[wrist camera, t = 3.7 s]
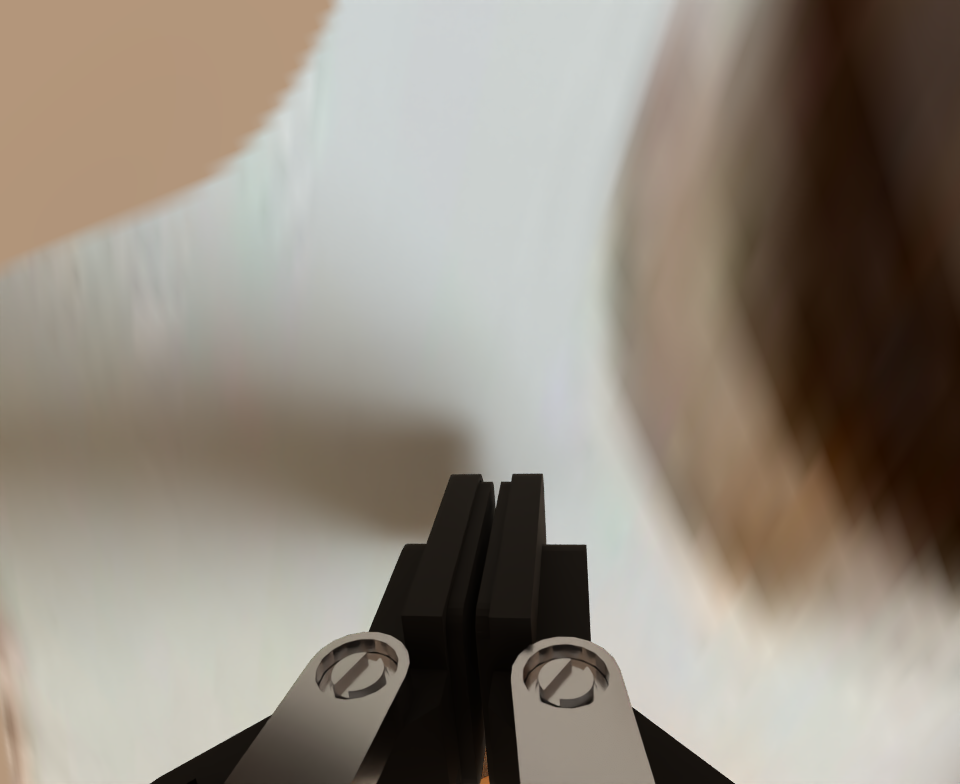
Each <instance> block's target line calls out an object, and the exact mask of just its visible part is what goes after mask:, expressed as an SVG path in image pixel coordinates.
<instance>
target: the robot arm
mask: <svg viewBox="0 0 960 784" xmlns="http://www.w3.org/2000/svg"><path fill="white" fill-rule="evenodd" d="M485 747H486V752H487V763H488V774H489V783H490V784H735V783H733V782H732V781H731V780H729V779H728V778H727V777H725V776H724V775H723V774H721V773H720V772H719V771H717V770H716V769H715V768H713V767H712V766H711V765H709V764H708V763H706V762H705V761H704V760H702V759H701V758H700V757H698V756H697V755H696V754H694V753H693V752H692V751H690V750H689V749H688V748H686V747H685V746H684V745H682V744H681V743H680V742H678V741H677V740H676V739H674V738H673V737H672V736H670V735H669V734H668V733H666V732H665V731H664V730H662V729H661V728H659V727H658V726H657V725H655V724H654V723H653V722H651V721H650V720H649V719H647V718H646V717H645V716H643V715H642V714H641V713H639V712H638V711H637V710H635V709H634V708H633V707H632V706H631V703H630V700H629V696H628V693H627V690H626V687H625V683H624V680H623V677H622V674H621V670H620V668H619V666H618V665H617V663H616V661H615V659H614V658H613V657H612V656H611V655H610V654H609V653H608V652H607V651H606V650H605V649H604V648H602V647H600V646H598V645H596V644H594V643H592V642H591V634H590V613H589V591H588V570H587V549H586V545H546V525H545V503H544V483H543V474H513V475H512V481H511V482H501V485H500V490H499V495H498V500H497V505H496V508H495V495H494V485H493V482H483V478H482V475H481V474H459V475H451V477H450V479H449V482H448V485H447V488H446V490H445V493H444V496H443V499H442V502H441V504H440V507H439V510H438V513H437V516H436V519H435V521H434V524H433V527H432V530H431V533H430V535H429V538H428V541H427V544H406V545H405V546H404V548H403V549H402V552H401V554H400V556H399V559H398V561H397V564H396V566H395V569H394V571H393V574H392V576H391V578H390V581H389V583H388V586H387V588H386V591H385V593H384V595H383V598H382V600H381V603H380V605H379V608H378V610H377V613H376V615H375V617H374V620H373V622H372V625H371V627H370V630H369V632H361V633H356V634H350V635H347V636H344V637H342V638H339V639H337V640H334V641H333V642H331V643H330V644H328V645H327V646H325V647H324V648H322V649H321V650H320V651H319V652H318V653H317V654H316V655H315V656H314V657H313V658H312V659H311V660H310V662H309V663H308V665H307V666H306V667H305V669H304V670H303V672H302V673H301V674H300V676H299V677H298V679H297V680H296V682H295V683H294V684H293V686H292V687H291V689H290V690H289V692H288V693H287V694H286V696H285V697H284V699H283V700H282V701H281V703H280V704H279V706H278V707H277V709H276V710H275V711H274V713H273V714H272V715H271V716H269V717H267V718H265V719H263V720H262V721H260V722H258V723H256V724H254V725H253V726H251V727H249V728H247V729H245V730H244V731H242V732H240V733H238V734H236V735H235V736H233V737H231V738H229V739H227V740H226V741H224V742H222V743H220V744H218V745H217V746H215V747H213V748H211V749H210V750H208V751H206V752H204V753H202V754H201V755H199V756H197V757H195V758H193V759H192V760H190V761H188V762H186V763H184V764H183V765H181V766H179V767H177V768H175V769H174V770H172V771H170V772H168V773H166V774H165V775H163V776H161V777H159V778H158V779H156V780H155V781H153V782H152V783H150V784H480V782H481V776H482V769H483V761H484V754H485Z"/></svg>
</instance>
